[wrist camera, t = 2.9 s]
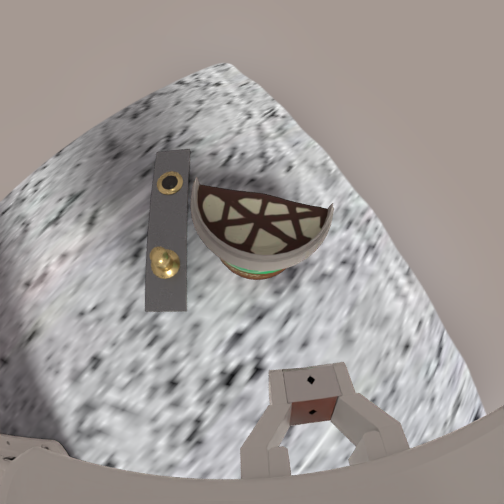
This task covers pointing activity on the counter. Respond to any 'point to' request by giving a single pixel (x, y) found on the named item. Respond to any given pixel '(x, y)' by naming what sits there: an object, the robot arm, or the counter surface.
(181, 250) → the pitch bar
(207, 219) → the food container
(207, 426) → the counter surface
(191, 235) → the counter surface
